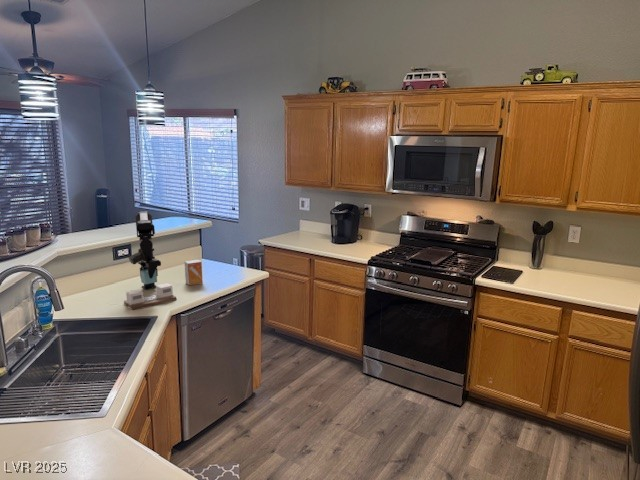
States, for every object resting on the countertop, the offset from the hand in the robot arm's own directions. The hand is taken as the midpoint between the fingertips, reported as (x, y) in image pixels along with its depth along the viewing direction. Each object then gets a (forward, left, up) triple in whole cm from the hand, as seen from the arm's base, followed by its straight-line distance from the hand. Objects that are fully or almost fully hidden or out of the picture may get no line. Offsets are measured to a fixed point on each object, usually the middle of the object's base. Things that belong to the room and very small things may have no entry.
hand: (148, 277), depth 222 cm
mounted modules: (0, 0, -11) cm, 11 cm away
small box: (-14, +31, -13) cm, 36 cm away
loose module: (0, 0, -3) cm, 3 cm away
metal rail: (0, 0, -12) cm, 12 cm away
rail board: (0, 0, -13) cm, 13 cm away
